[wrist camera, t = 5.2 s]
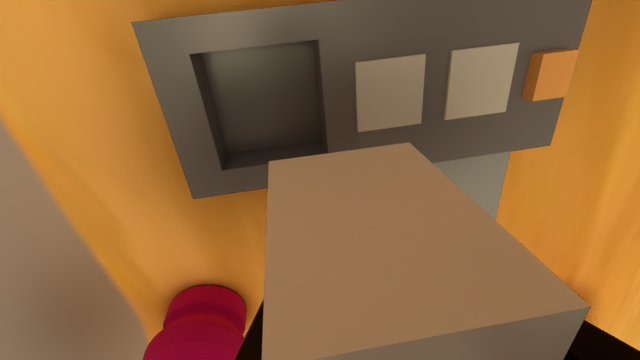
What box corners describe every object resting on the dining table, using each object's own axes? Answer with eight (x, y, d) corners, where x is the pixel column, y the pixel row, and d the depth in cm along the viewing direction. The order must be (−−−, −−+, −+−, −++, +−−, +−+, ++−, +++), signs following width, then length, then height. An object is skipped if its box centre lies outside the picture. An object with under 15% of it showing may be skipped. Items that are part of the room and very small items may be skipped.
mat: (505, 143, 22) (511, 146, 21) (482, 256, 27) (486, 261, 27) (358, 165, 21) (360, 169, 20) (363, 278, 26) (365, 283, 26)
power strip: (543, -19, 18) (616, -30, 14) (511, 128, 22) (560, 150, 18) (158, 22, 16) (123, 22, 12) (205, 172, 20) (189, 206, 16)
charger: (409, 142, 11) (591, 307, 5) (402, 251, 13) (514, 452, 7) (268, 161, 10) (261, 368, 4) (288, 269, 13) (303, 500, 7)
